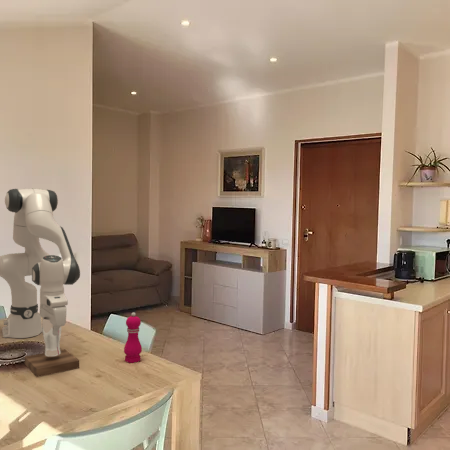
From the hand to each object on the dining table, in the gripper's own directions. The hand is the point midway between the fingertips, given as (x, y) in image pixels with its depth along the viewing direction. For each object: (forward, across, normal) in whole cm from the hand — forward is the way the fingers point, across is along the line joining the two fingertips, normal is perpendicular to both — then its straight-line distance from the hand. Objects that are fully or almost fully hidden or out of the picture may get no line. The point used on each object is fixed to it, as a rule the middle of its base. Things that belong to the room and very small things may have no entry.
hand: (51, 332), depth 182 cm
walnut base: (+13, 0, 0) cm, 13 cm away
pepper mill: (+14, +12, +29) cm, 34 cm away
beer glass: (+9, 0, 0) cm, 9 cm away
